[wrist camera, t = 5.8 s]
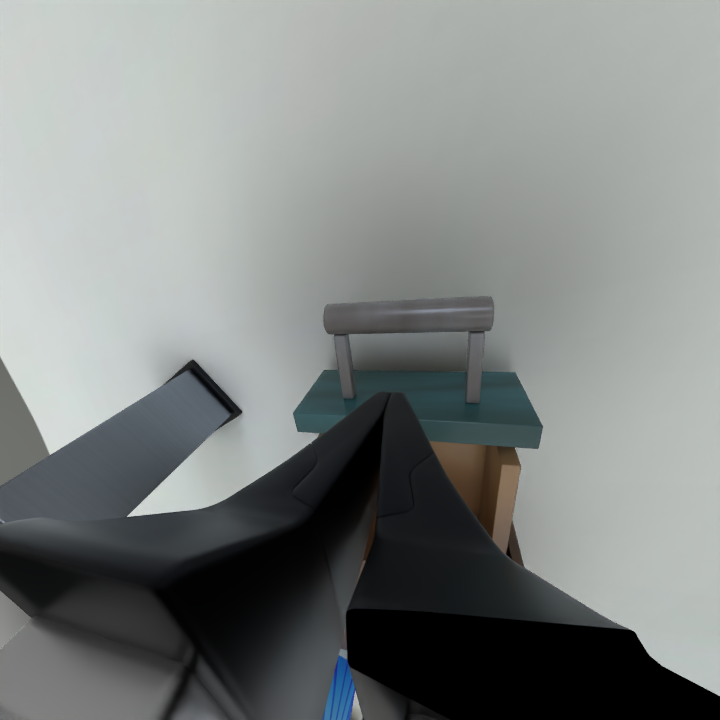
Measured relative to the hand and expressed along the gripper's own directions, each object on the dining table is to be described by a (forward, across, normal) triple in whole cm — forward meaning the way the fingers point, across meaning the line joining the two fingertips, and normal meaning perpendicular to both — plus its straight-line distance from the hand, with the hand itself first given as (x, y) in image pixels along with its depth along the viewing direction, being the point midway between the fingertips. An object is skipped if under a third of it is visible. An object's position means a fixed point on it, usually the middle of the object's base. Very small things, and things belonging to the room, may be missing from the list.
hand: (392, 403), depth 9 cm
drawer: (+7, 0, +6) cm, 10 cm away
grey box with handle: (+8, +17, +6) cm, 20 cm away
